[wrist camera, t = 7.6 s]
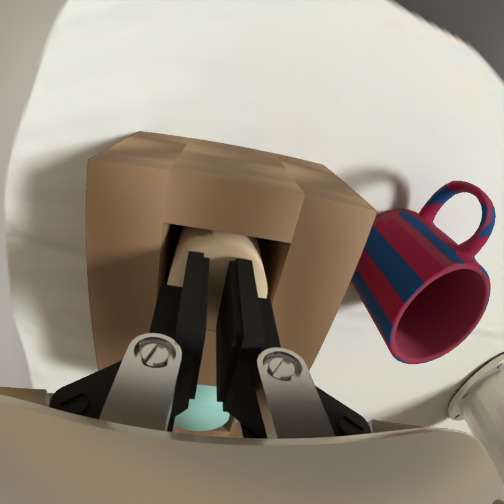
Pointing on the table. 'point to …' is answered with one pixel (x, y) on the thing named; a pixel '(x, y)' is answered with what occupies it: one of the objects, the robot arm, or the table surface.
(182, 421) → the teal peg
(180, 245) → the maple peg
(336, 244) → the walnut block
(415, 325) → the mug
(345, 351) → the table surface
